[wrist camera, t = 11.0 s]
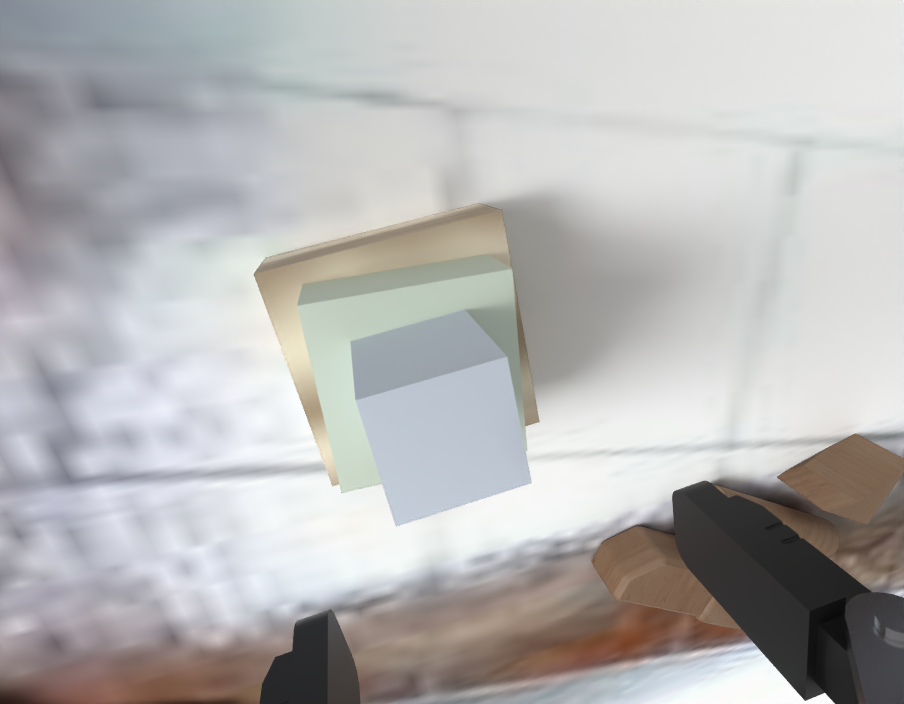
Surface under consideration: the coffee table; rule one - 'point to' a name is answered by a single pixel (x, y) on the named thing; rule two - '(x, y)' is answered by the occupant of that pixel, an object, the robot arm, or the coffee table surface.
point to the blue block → (438, 415)
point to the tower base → (369, 254)
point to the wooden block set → (817, 479)
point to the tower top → (386, 308)
